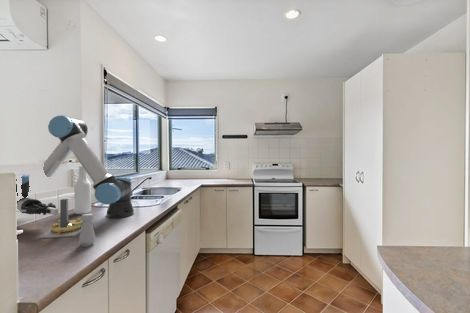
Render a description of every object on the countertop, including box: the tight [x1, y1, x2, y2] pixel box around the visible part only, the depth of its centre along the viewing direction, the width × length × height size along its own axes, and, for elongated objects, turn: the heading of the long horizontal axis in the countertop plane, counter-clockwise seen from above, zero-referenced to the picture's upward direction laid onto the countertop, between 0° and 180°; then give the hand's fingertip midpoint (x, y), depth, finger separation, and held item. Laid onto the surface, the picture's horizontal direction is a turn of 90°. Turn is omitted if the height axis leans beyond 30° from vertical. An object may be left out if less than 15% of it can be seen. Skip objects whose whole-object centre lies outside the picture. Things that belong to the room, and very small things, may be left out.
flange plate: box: [39, 228, 81, 239], centre depth 110 cm, size 14×18×2 cm
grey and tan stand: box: [50, 198, 83, 232], centre depth 110 cm, size 13×13×15 cm
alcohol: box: [73, 164, 92, 215], centre depth 142 cm, size 9×9×30 cm
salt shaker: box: [78, 212, 96, 248], centre depth 94 cm, size 6×6×13 cm
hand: (56, 211), depth 106 cm, fingers closed
